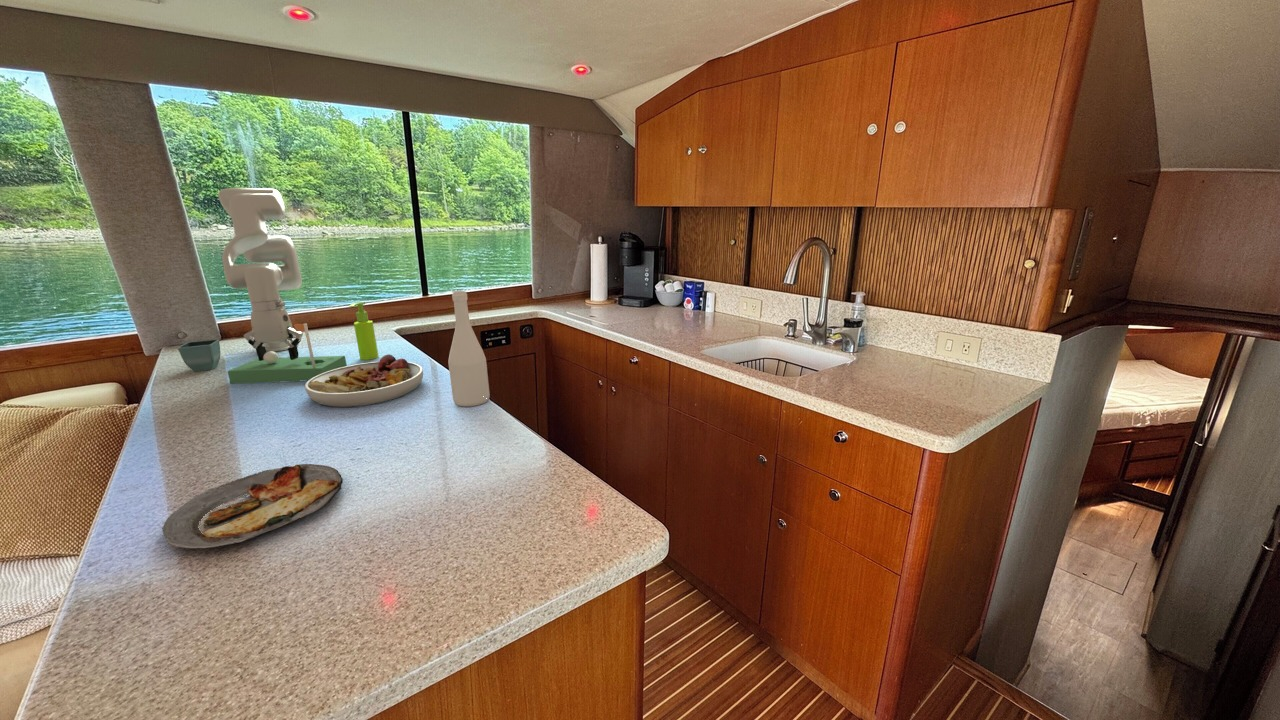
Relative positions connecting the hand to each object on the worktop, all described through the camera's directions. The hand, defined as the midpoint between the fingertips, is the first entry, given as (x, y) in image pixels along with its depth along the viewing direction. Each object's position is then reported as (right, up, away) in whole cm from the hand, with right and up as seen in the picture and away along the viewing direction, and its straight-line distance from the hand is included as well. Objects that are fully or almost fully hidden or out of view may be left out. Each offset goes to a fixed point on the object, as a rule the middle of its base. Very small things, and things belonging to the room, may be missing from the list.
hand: (279, 359), depth 158 cm
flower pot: (-32, -3, +10) cm, 33 cm away
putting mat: (+3, -5, +2) cm, 6 cm away
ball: (-2, +1, 0) cm, 2 cm away
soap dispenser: (+18, 0, +20) cm, 27 cm away
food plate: (+49, -27, -71) cm, 91 cm away
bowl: (+36, -10, -14) cm, 40 cm away
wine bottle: (+70, -12, -23) cm, 74 cm away
